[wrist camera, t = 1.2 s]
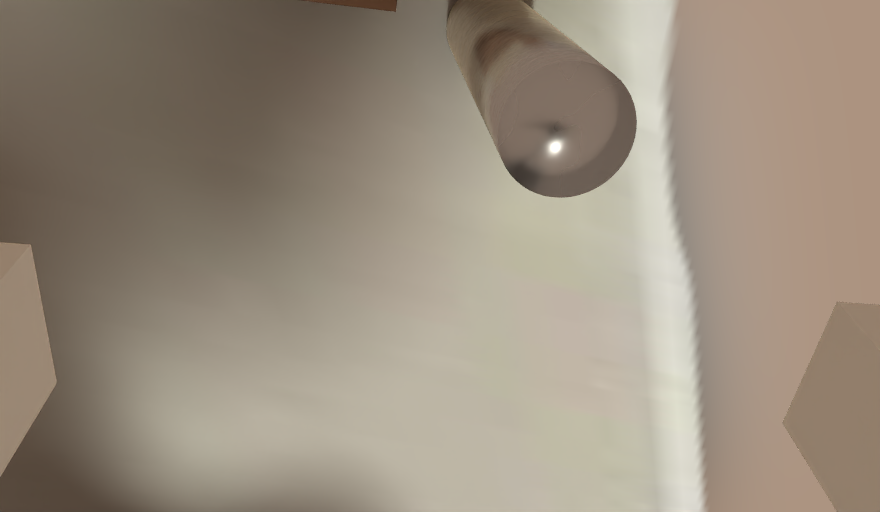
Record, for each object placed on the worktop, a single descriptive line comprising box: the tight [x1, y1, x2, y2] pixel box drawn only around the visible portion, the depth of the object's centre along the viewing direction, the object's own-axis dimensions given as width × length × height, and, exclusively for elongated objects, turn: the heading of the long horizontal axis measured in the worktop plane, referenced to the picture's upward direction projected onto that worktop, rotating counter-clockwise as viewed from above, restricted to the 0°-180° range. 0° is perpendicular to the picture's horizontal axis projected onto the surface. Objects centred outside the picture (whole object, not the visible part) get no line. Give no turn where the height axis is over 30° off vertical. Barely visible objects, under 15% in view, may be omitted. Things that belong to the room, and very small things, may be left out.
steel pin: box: [446, 0, 637, 197], centre depth 25 cm, size 3×3×14 cm
